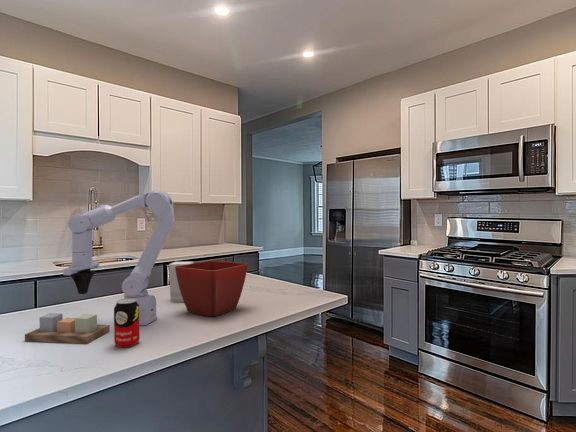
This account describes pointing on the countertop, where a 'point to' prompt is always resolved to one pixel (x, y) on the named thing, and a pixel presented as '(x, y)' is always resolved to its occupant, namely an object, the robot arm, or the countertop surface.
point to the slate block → (50, 322)
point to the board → (67, 336)
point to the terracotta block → (66, 325)
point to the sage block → (85, 323)
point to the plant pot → (211, 286)
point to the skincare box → (175, 282)
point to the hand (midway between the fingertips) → (82, 293)
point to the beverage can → (126, 322)
